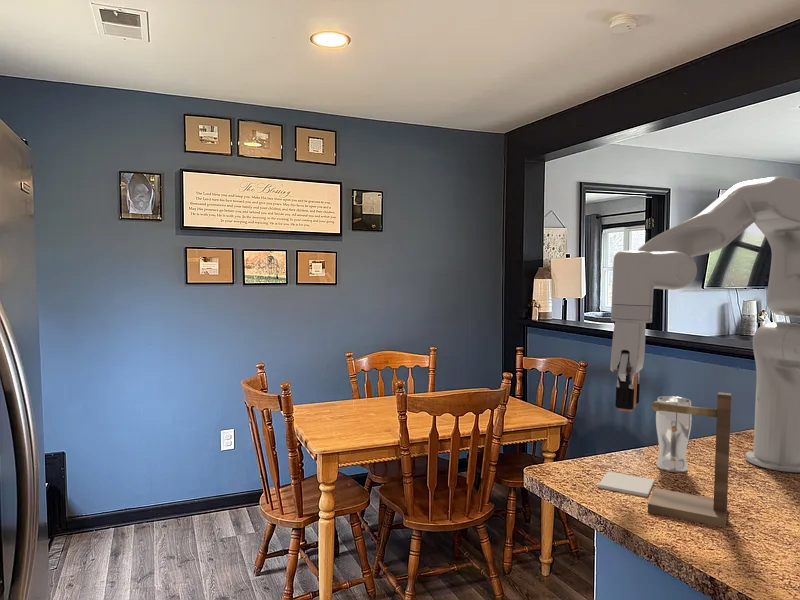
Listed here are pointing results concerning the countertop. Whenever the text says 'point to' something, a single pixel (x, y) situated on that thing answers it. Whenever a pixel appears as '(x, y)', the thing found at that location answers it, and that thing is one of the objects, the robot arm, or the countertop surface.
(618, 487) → the trivet
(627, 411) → the link
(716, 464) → the stand
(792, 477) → the countertop surface
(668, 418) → the beer glass
